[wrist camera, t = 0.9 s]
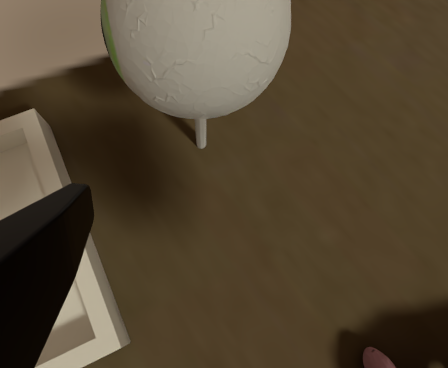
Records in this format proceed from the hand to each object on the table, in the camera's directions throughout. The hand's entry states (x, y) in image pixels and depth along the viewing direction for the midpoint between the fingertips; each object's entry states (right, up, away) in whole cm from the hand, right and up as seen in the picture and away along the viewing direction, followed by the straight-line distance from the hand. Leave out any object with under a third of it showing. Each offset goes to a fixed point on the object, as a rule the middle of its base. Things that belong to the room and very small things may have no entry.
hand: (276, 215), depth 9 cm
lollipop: (-3, +3, +16) cm, 17 cm away
